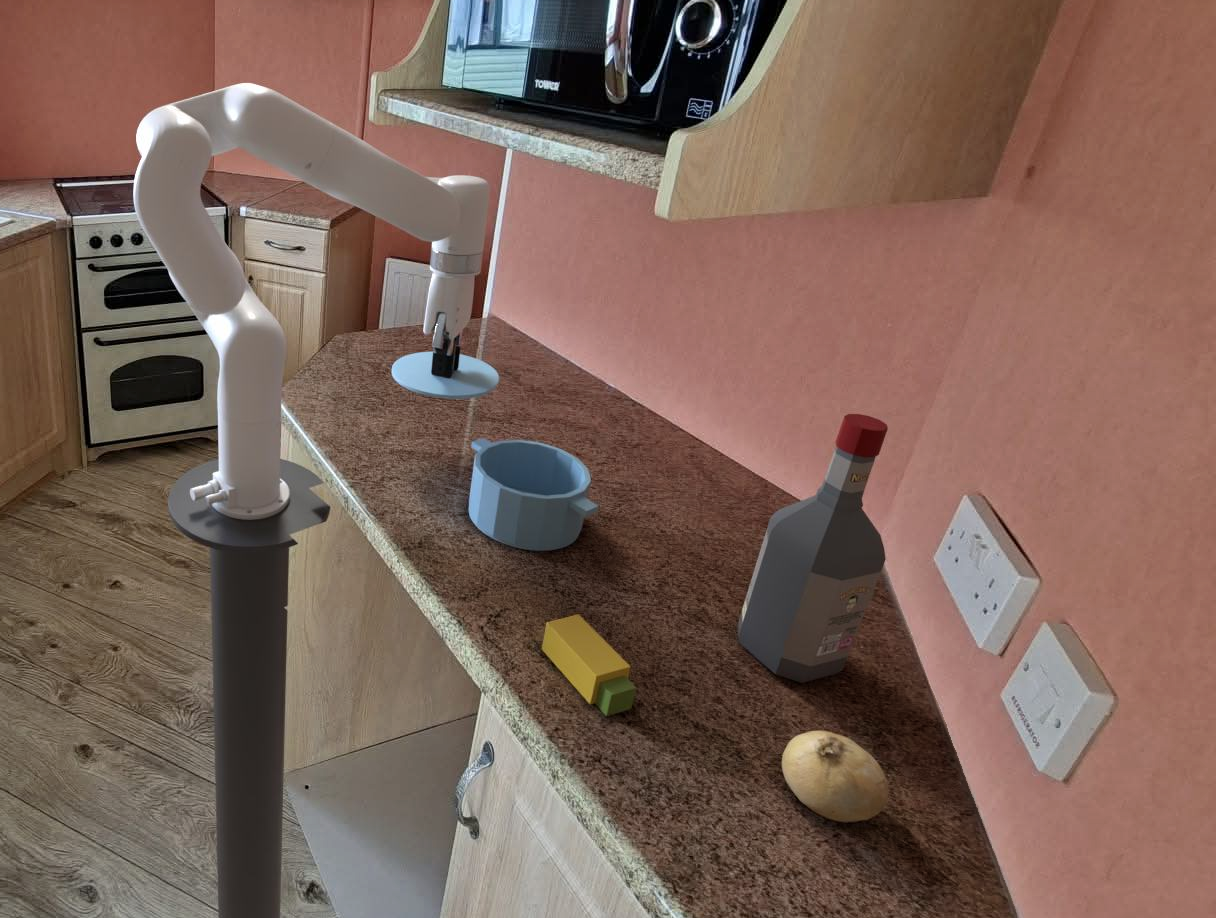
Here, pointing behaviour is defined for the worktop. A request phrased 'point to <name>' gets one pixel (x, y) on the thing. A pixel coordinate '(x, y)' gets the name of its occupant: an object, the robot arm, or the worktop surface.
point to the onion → (834, 776)
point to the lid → (463, 383)
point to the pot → (529, 494)
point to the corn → (589, 664)
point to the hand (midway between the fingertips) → (444, 371)
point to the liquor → (818, 567)
